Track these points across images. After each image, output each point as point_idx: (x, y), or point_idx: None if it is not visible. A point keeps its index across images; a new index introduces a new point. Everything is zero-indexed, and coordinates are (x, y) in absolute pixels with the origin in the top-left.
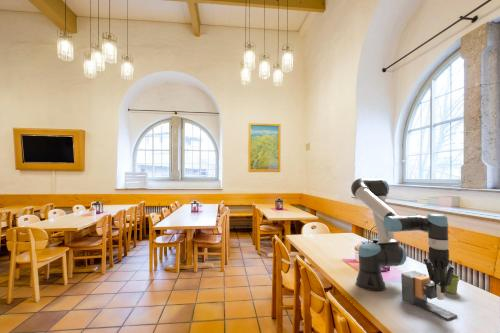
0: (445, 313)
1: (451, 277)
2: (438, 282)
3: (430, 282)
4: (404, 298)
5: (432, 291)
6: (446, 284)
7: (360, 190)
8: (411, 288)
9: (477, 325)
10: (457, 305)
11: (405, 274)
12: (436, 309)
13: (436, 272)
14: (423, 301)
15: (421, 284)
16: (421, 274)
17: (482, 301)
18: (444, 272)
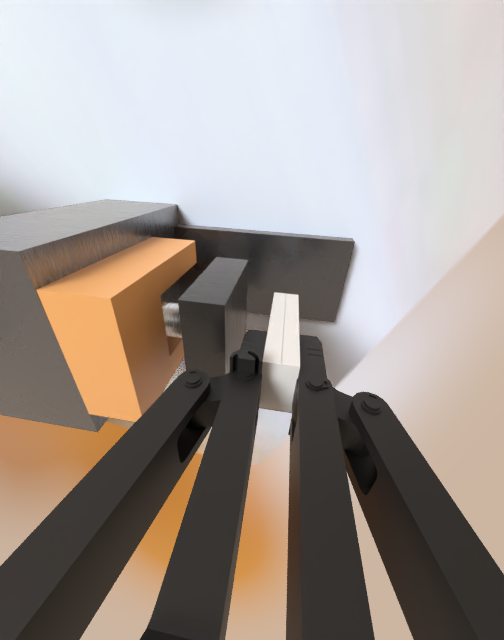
0: (308, 280)
1: (475, 564)
2: (259, 398)
3: (144, 279)
4: None
5: (236, 350)
6: (365, 459)
7: None
8: None
9: (453, 229)
10: (290, 15)
11: (19, 408)
12: (263, 277)
13: (234, 573)
14: None
15: (162, 385)
16: (7, 290)
17: None
18: (358, 626)
